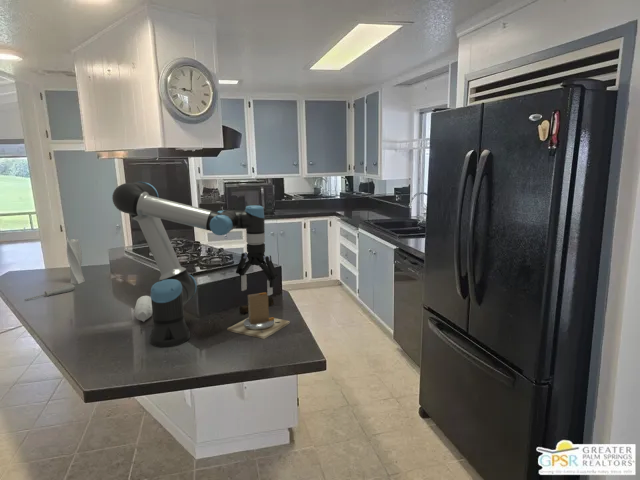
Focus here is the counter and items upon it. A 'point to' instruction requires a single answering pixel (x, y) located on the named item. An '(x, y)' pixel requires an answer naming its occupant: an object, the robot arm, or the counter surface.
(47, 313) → the counter surface
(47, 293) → the screwdriver
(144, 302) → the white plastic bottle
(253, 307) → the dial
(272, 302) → the hand tool
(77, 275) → the skyscraper
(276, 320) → the dial plate
